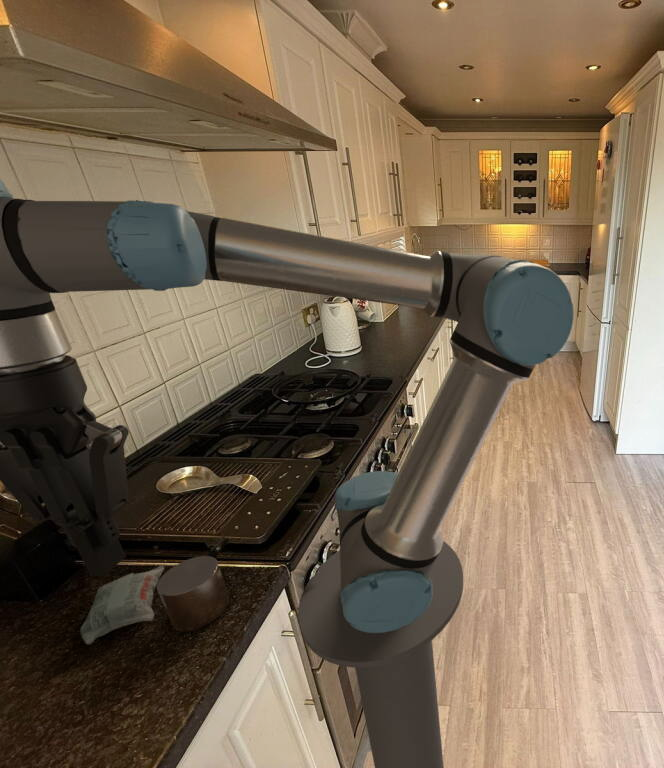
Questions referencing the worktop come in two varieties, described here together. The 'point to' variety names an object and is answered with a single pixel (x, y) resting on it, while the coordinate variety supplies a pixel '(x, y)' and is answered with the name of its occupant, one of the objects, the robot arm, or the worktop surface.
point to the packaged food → (121, 604)
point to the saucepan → (194, 591)
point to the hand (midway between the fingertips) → (108, 565)
